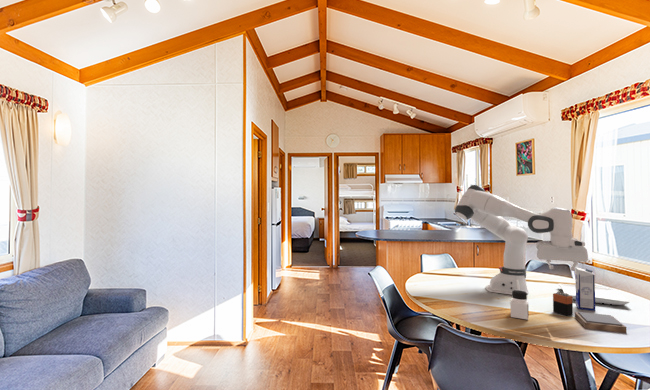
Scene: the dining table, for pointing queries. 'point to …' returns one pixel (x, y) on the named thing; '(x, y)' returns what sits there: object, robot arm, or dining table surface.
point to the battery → (562, 304)
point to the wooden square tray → (600, 322)
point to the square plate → (598, 294)
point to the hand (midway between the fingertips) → (561, 269)
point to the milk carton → (585, 289)
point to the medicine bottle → (519, 304)
